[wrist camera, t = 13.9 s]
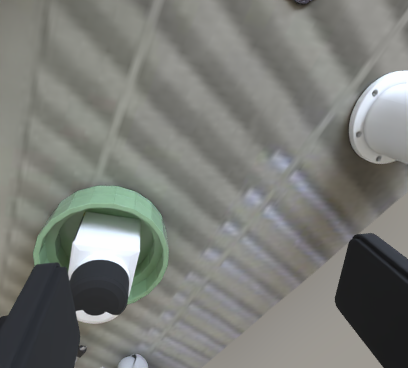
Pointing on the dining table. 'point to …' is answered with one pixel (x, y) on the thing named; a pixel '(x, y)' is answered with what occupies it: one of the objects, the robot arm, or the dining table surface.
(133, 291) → the bowl
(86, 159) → the dining table surface
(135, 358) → the clip-on lamp
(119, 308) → the medicine bottle
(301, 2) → the mouse pad
